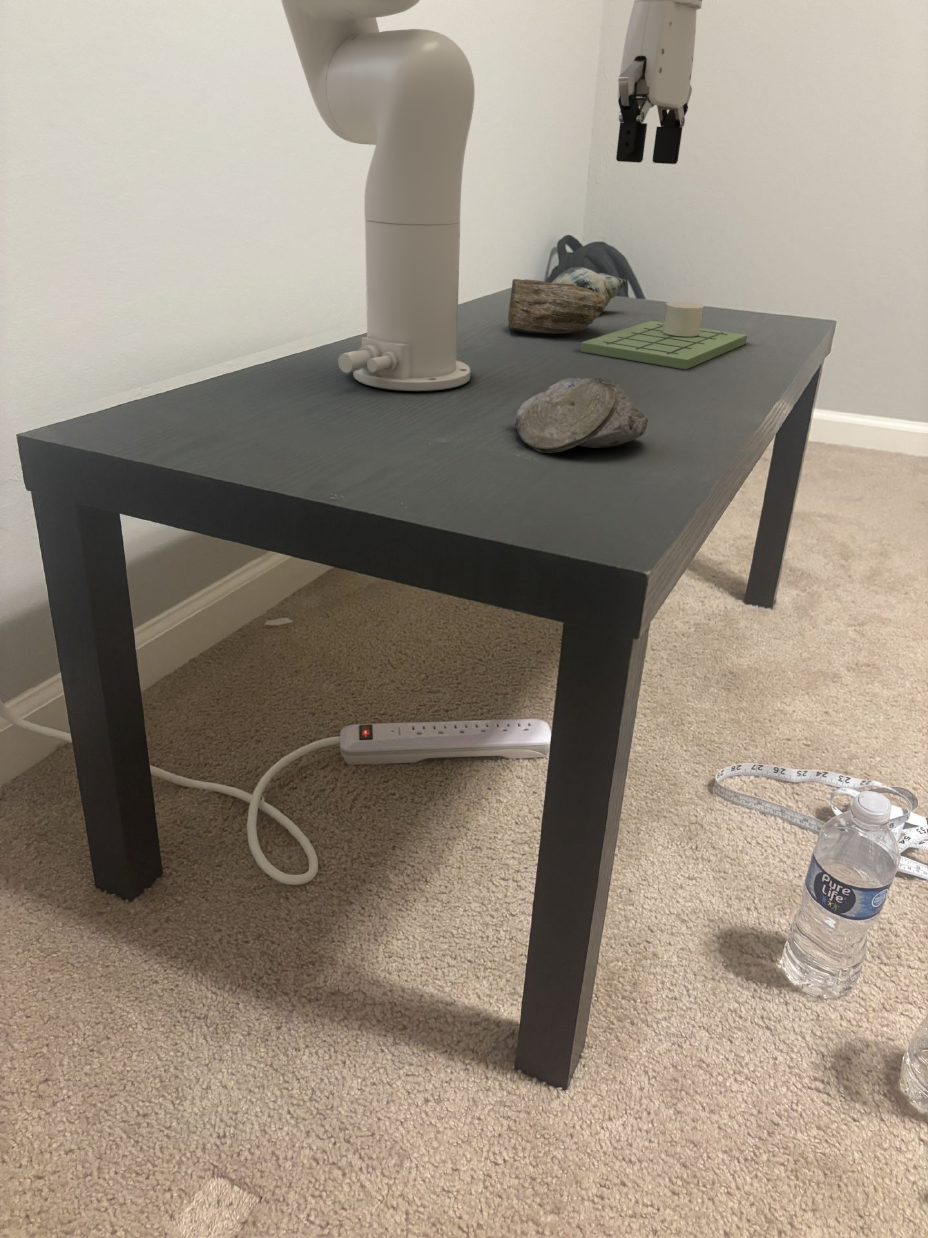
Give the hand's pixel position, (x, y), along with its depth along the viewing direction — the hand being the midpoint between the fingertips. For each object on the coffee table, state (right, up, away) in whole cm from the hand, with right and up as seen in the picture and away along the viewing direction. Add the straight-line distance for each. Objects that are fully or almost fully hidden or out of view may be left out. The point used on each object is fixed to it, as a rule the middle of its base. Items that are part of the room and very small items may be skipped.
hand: (647, 162), depth 109 cm
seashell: (-5, -8, +29) cm, 30 cm away
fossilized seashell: (-12, -40, -29) cm, 51 cm away
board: (+4, -20, +7) cm, 22 cm away
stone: (-10, -16, +14) cm, 24 cm away
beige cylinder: (+6, -18, +10) cm, 21 cm away
